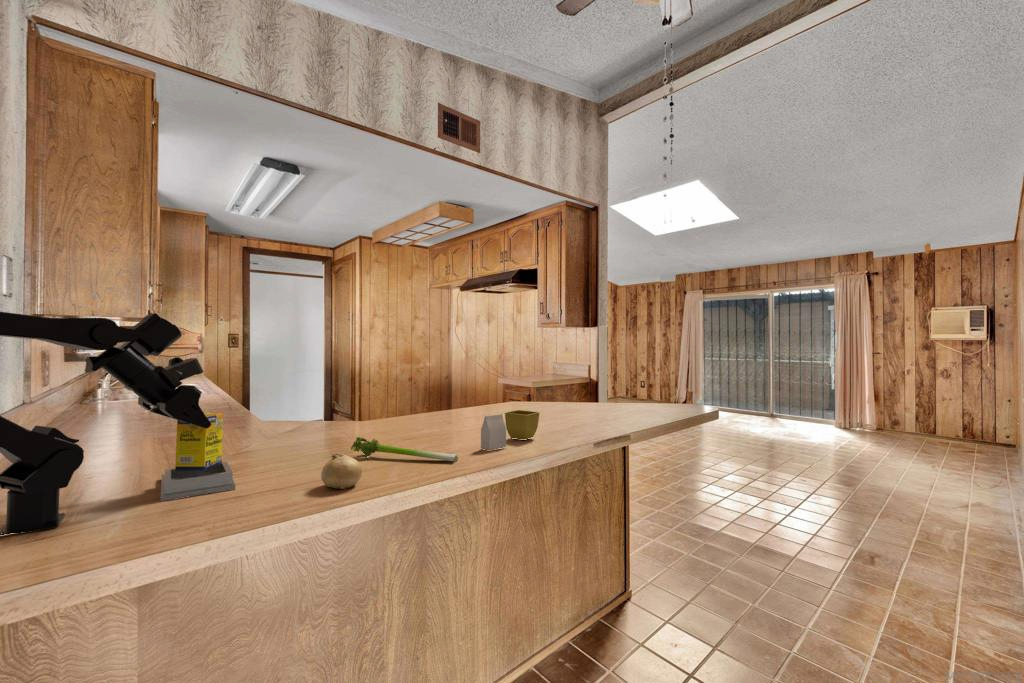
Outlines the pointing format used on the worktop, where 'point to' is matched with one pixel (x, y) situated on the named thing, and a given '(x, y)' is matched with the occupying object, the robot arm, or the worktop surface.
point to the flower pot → (521, 423)
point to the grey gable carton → (493, 432)
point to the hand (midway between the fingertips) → (201, 424)
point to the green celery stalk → (397, 450)
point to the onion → (341, 472)
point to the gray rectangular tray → (196, 481)
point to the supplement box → (199, 444)
